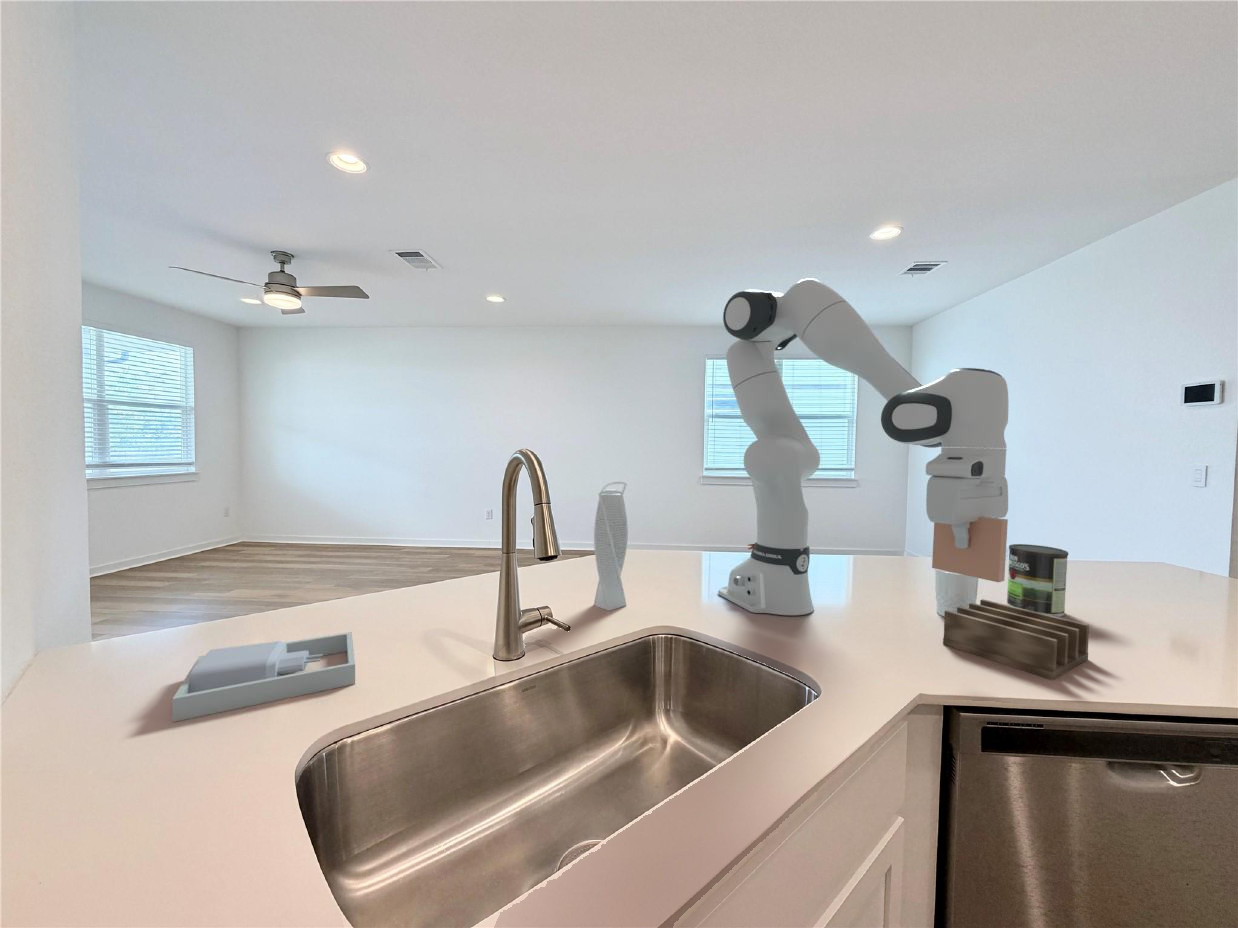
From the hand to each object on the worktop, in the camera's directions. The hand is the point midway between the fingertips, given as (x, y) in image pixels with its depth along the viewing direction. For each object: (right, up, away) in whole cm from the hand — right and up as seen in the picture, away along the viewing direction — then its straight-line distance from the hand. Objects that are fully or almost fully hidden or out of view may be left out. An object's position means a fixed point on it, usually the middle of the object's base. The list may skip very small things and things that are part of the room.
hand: (967, 546), depth 82 cm
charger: (-113, -19, -8) cm, 115 cm away
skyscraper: (-61, -18, +28) cm, 70 cm away
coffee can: (+36, -20, +29) cm, 51 cm away
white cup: (+15, -19, +24) cm, 35 cm away
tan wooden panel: (0, -5, 0) cm, 5 cm away
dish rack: (+12, -20, +5) cm, 24 cm away
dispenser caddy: (-111, -19, -8) cm, 113 cm away
